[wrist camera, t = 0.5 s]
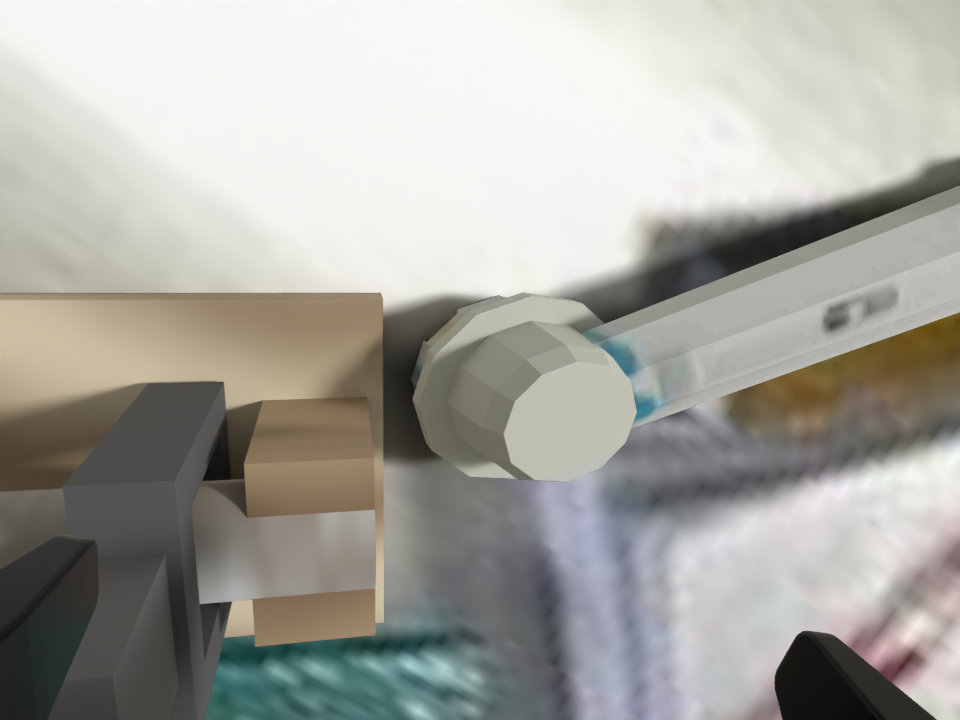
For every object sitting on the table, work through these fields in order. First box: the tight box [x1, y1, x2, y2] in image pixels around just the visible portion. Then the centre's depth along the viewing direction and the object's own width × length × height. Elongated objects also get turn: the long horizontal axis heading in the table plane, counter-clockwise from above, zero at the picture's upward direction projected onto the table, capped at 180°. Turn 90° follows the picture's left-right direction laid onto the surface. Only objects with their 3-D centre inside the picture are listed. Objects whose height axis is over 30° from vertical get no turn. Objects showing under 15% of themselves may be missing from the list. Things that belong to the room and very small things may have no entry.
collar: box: [47, 382, 232, 720], centre depth 16 cm, size 6×2×10 cm, turn 177°
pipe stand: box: [0, 293, 384, 647], centre depth 18 cm, size 11×19×6 cm, turn 87°
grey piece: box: [411, 186, 960, 482], centre depth 22 cm, size 5×7×25 cm
